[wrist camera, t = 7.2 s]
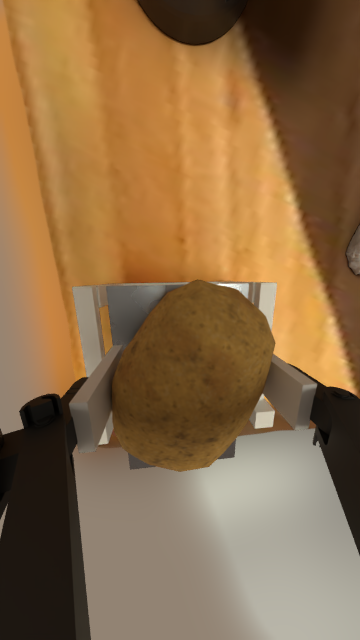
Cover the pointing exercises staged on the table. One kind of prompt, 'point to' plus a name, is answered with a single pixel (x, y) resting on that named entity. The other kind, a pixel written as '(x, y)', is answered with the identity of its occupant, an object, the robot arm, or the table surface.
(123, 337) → the flap
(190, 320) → the potato
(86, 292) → the frame
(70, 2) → the table surface
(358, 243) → the stone
